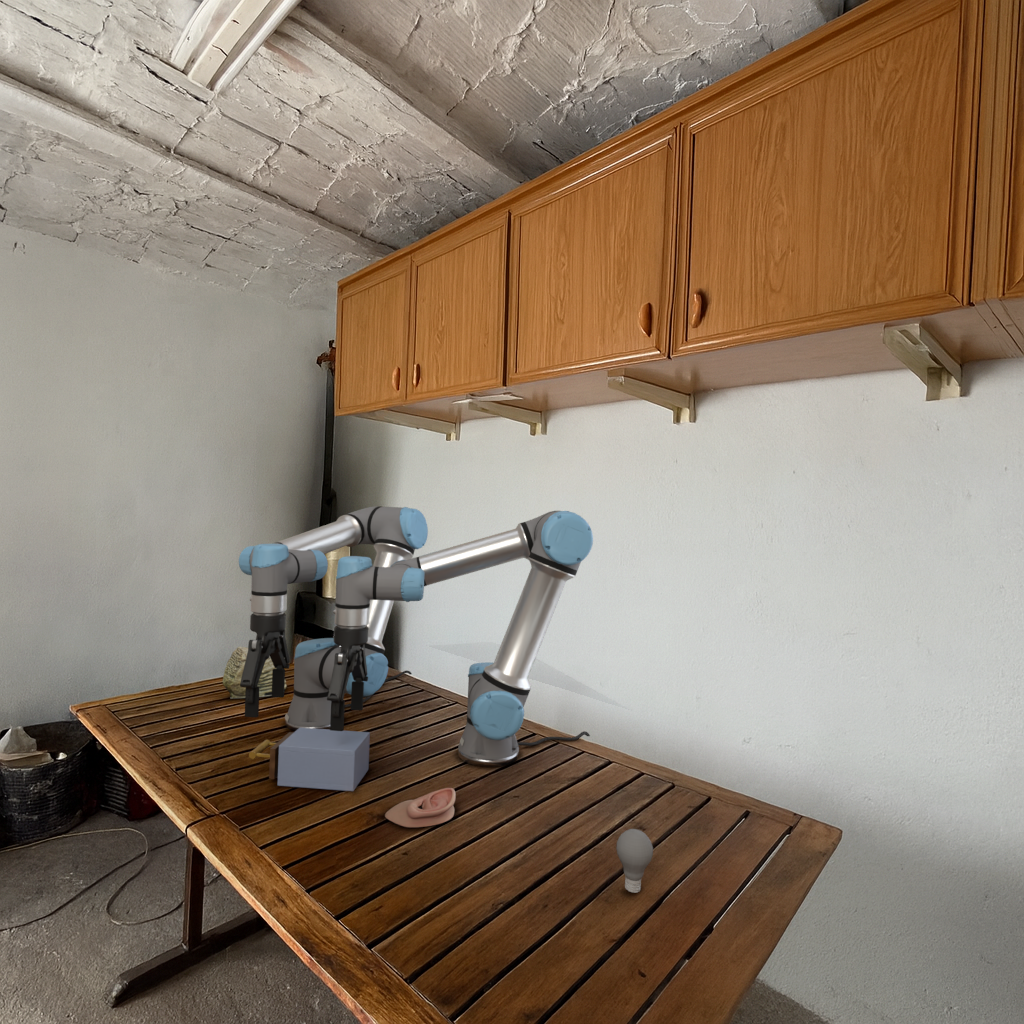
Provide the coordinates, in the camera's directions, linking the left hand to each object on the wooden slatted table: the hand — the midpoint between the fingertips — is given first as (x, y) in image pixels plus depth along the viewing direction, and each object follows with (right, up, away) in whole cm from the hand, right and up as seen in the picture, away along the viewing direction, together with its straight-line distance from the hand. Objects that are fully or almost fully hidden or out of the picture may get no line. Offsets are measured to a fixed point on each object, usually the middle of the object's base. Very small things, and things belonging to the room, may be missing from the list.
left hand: (265, 706), depth 143 cm
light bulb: (+76, -19, -37) cm, 87 cm away
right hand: (+19, -3, -1) cm, 19 cm away
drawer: (+8, -15, 0) cm, 17 cm away
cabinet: (+13, -16, 0) cm, 21 cm away
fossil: (-25, -13, +55) cm, 62 cm away
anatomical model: (+37, -17, -15) cm, 44 cm away
